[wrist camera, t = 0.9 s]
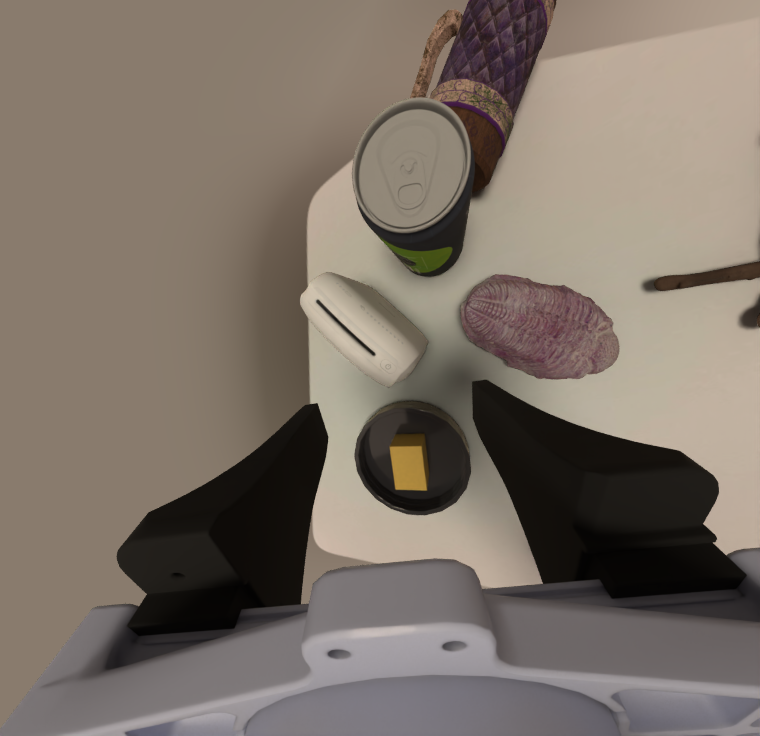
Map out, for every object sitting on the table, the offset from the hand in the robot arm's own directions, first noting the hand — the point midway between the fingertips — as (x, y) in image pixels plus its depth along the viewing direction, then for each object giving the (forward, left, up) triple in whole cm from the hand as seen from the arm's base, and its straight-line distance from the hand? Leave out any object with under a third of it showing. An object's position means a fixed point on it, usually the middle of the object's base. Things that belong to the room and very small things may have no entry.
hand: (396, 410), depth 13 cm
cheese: (-11, +3, -17) cm, 21 cm away
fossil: (+2, -10, -18) cm, 21 cm away
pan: (-11, +3, -18) cm, 21 cm away
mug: (+16, -2, -15) cm, 22 cm away
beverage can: (+11, -2, -18) cm, 21 cm away
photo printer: (+4, +4, -18) cm, 19 cm away
